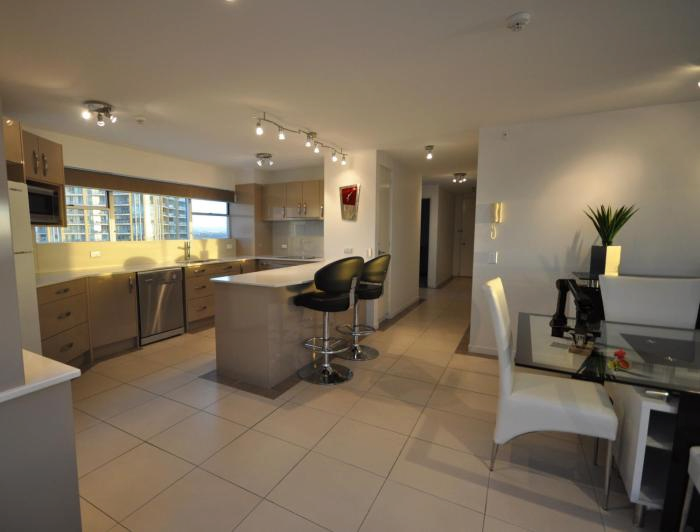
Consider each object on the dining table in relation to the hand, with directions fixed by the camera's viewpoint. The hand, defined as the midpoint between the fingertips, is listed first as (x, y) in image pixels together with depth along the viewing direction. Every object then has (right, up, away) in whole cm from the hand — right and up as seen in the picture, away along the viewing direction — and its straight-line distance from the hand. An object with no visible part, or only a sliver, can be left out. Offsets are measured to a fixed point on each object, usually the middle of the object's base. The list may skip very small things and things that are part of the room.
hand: (580, 345), depth 194 cm
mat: (-5, -3, +11) cm, 13 cm away
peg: (0, -4, 0) cm, 4 cm away
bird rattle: (+3, -7, -25) cm, 26 cm away
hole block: (+3, -4, +4) cm, 6 cm away
